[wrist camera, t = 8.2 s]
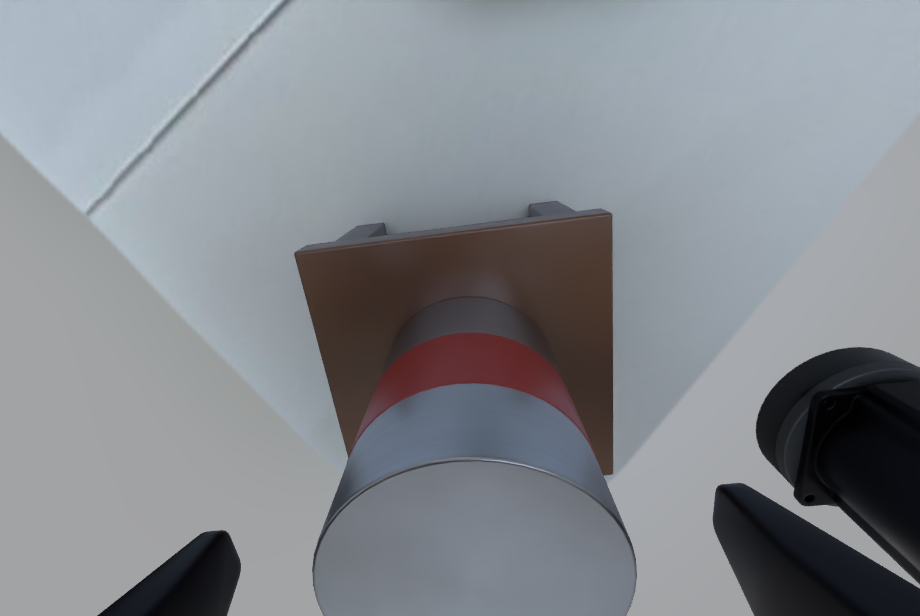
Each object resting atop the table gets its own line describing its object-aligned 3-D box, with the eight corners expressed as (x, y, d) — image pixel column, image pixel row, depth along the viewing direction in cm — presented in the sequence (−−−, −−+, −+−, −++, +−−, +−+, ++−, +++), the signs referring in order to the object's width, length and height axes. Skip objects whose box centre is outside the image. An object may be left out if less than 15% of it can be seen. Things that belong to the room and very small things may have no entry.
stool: (572, 385, 20) (614, 475, 15) (387, 404, 21) (358, 498, 15) (565, 192, 17) (613, 212, 12) (347, 219, 18) (292, 252, 12)
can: (557, 435, 14) (636, 682, 8) (402, 450, 14) (349, 701, 8) (549, 285, 12) (643, 439, 6) (371, 306, 13) (270, 475, 6)
